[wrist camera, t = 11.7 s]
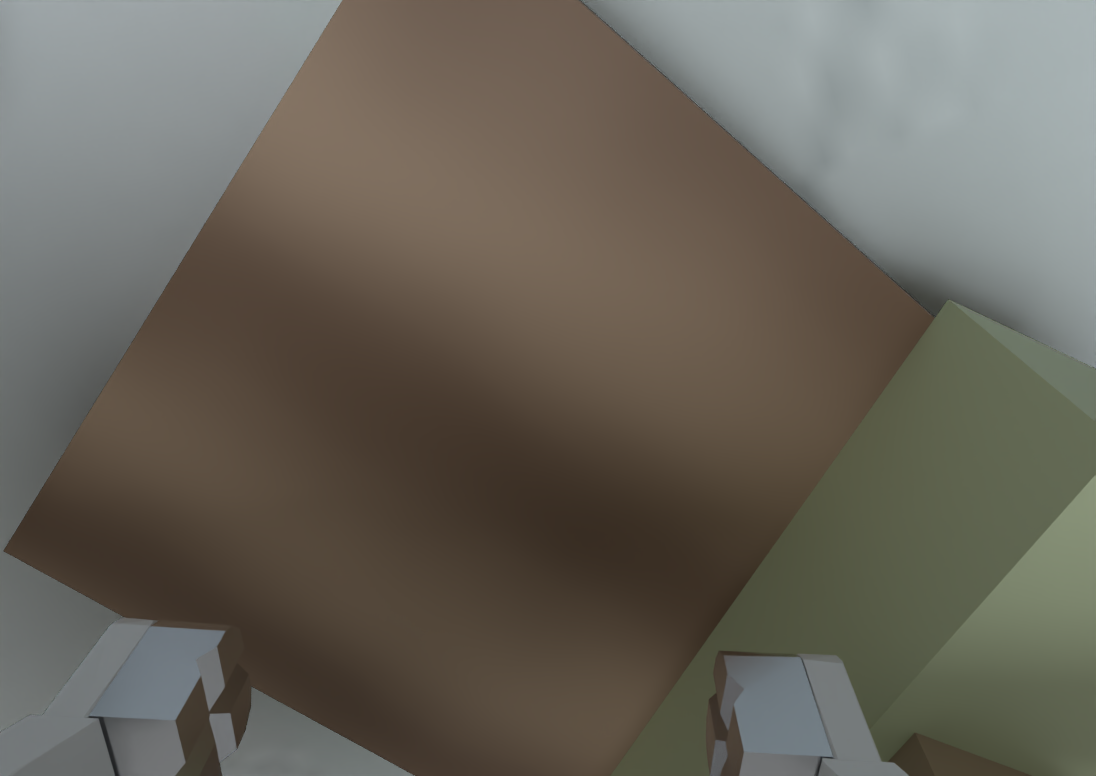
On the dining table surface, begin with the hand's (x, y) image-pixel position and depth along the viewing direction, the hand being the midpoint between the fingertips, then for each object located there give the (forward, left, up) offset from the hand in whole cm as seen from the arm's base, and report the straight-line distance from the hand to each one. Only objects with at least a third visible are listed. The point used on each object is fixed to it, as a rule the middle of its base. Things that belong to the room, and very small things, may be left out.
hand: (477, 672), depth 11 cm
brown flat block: (0, -1, -7) cm, 7 cm away
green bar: (+1, -7, -4) cm, 8 cm away
